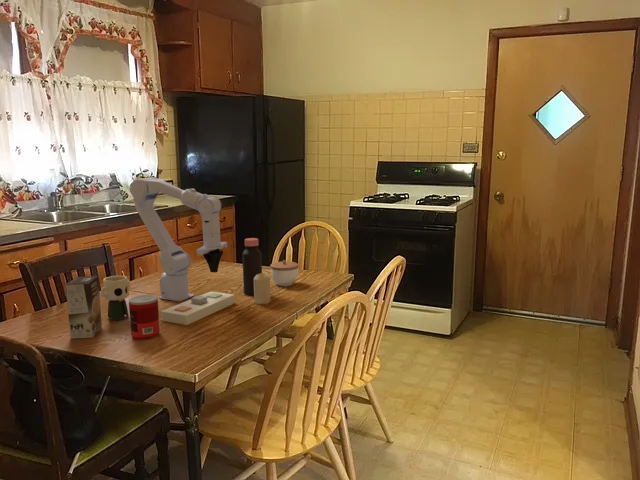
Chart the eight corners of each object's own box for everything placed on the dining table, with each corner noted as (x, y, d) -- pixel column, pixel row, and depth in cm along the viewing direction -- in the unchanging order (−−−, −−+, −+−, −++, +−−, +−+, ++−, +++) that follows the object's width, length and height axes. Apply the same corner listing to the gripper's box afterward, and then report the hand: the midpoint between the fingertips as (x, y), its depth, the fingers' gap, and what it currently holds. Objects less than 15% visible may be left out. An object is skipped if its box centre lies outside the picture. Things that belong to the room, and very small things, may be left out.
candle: (267, 304, 188) (267, 276, 187) (252, 304, 190) (251, 275, 188) (272, 300, 194) (271, 272, 192) (257, 299, 195) (256, 271, 193)
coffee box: (93, 338, 158) (88, 283, 155) (69, 339, 158) (64, 284, 155) (102, 327, 167) (98, 275, 164) (80, 328, 167) (76, 276, 164)
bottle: (240, 294, 201) (238, 240, 197) (249, 290, 207) (247, 237, 203) (256, 296, 198) (255, 241, 195) (265, 291, 204) (264, 238, 201)
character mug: (112, 325, 169) (108, 283, 167) (96, 321, 173) (92, 280, 171) (139, 315, 179) (136, 275, 176) (124, 311, 182) (121, 273, 180)
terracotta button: (175, 317, 174) (174, 308, 174) (182, 314, 177) (182, 305, 177) (184, 319, 172) (183, 310, 172) (191, 315, 176) (191, 307, 175)
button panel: (161, 320, 173) (160, 311, 173) (211, 299, 195) (210, 291, 195) (186, 325, 169) (186, 315, 168) (234, 303, 191) (234, 294, 190)
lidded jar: (304, 282, 217) (303, 259, 215) (287, 289, 208) (287, 264, 206) (281, 279, 222) (281, 256, 220) (265, 285, 213) (264, 261, 212)
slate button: (191, 306, 181) (191, 298, 180) (198, 303, 184) (198, 295, 184) (200, 308, 179) (200, 299, 179) (207, 305, 182) (207, 296, 182)
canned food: (165, 332, 163) (163, 295, 161) (148, 341, 156) (145, 303, 153) (143, 329, 165) (140, 293, 163) (125, 338, 158) (122, 301, 156)
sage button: (207, 303, 188) (206, 295, 188) (213, 301, 191) (213, 293, 191) (215, 305, 187) (215, 297, 186) (222, 302, 190) (221, 294, 189)
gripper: (207, 237, 181) (210, 277, 183) (233, 230, 194) (235, 268, 196) (190, 235, 184) (193, 276, 186) (217, 229, 197) (219, 266, 199)
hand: (214, 271), depth 191 cm, fingers closed
